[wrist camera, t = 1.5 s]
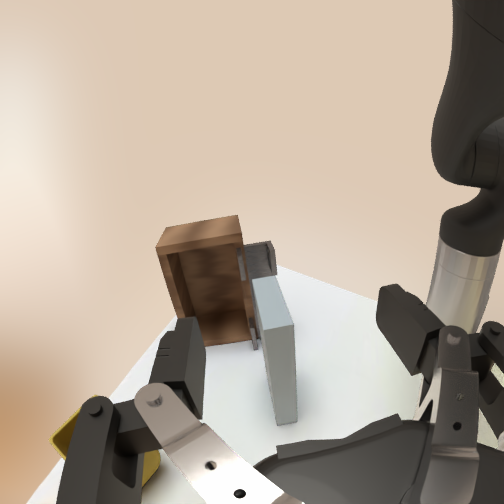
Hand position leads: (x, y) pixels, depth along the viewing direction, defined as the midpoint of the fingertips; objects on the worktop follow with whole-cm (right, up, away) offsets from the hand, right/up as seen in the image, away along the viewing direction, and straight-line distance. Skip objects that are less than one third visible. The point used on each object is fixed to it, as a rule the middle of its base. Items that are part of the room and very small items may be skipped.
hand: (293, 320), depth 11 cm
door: (+2, -16, +20) cm, 25 cm away
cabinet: (-7, -10, +35) cm, 37 cm away
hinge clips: (+1, -11, +30) cm, 32 cm away
